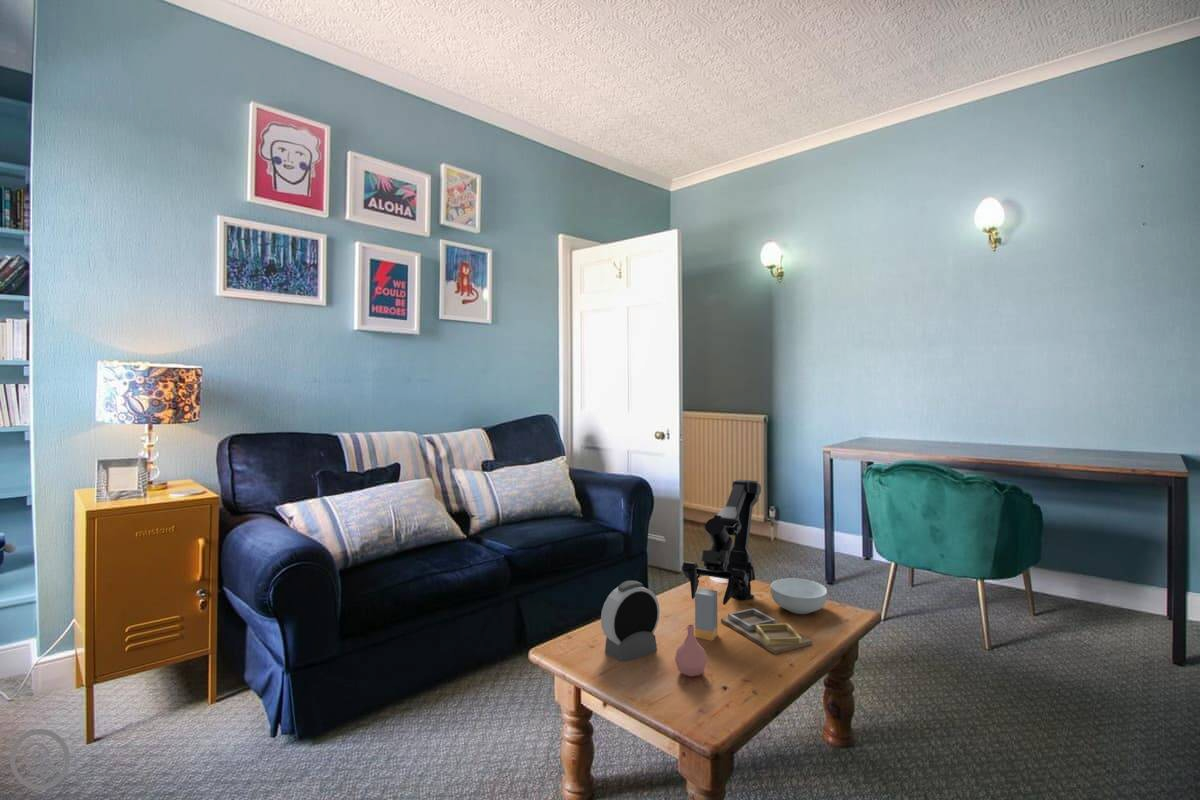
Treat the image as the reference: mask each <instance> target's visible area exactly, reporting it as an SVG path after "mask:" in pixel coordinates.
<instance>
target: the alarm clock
mask: <svg viewBox="0 0 1200 800" xmlns="http://www.w3.org/2000/svg"><path fill="white" fill-rule="evenodd" d="M660 614H661V613H660V604H659V600H658V598H657V596H656V595H655V593H654V592H653V591H651V590H650V589H648V588H646V587H644V586H643V583H641V582H639V581H637V580H625V581H623V582H621V583H620V584H619V585H618V586H617V587H616V588H614V589H613V590H612V591H611V592H610V593H609V595H608V596H607V597H606V600H605V601H604V603H603V606H602V609H601V615H600V622H601V625H600V626H601V629H602V632H603V634H604V635H605V637H606V638H605V639H606V640H605V641H606V642H605V647H604V652H606V654H608V655H609V656H611V657H612V658H614V659H615V660H617V661H619V662H627V661H633V660H638V659H640V658H641V659H642V658H645V657H646V656H649V655H651V654H652V653H654V652H656V651H657V650H658V647H657V639H656V635H655V634H654V633H655V631H656V629H657V627H658V624H659V620H660Z"/></svg>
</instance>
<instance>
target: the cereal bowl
mask: <svg viewBox="0 0 1200 800" xmlns="http://www.w3.org/2000/svg"><path fill="white" fill-rule="evenodd" d="M770 595H771V598H772V599H773V601H774V603H776V604H777V605H778V606H779V607H781V608H783V609H785V610H786V611H789V612H790V613H792V614H798V615H808V614H810V613H813V612H817V611H818V610H821V609H822V608H823V607H824V606H825V604H826V603H827V600H828V590H827V588H826V587H825V586H824V584H823V585H822V584H821V583H819V582H816V581H813V580H810V579H803V578H798V577H797V578H796V577H795V578H794V577H793V578H789V577H788V578H779V579H776V580H774V581H772V582H771V584H770Z"/></svg>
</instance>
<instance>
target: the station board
mask: <svg viewBox="0 0 1200 800" xmlns="http://www.w3.org/2000/svg"><path fill="white" fill-rule="evenodd" d="M720 622H721V623H722V624H724V625H726V626H727V627H729V628H730V629H732V630H734V631H736V632H737V633H739V634H740V635H743V636H744V637H745V638H747V639H748V640H751V641H752V642H754V643H755V644H757V645H759V646H760V647H762V648H764V649H765V650H767V651H769V652H771V653H772V654H774V655H777V654H780V653H783V652H788V651H792V650H796V649H798V648H803V647H806V646H810V645H812V644H813V641H812V639H809V638H808V637H806V636H804V635H803V634H800V633H798V632H797V631H796V630H795V629H794V628H793V626H791V625H790V624H789V623H787V622H786V623H785V622H784V623H783V622H782V623H780V622H777V620H776V619H775V618H773V617H772V616H769V615H768V614H766V613H764V612H761V611H760V610H758V609H756V608H754V607H753V608H748V609H743V610H740V611H734V612H730V613H728V614H727V616H726V617H725V616H724V617H722V618H720Z"/></svg>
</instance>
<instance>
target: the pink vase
mask: <svg viewBox="0 0 1200 800" xmlns="http://www.w3.org/2000/svg"><path fill="white" fill-rule="evenodd" d="M696 638H697V637H695V624H688V625H687V635H686V637H685V639H684V641H683V642H682V643H681V644H680V645H679V646H678V647H677V648H676V652H675V656H674V661H675V664H676V666H677V667H676V668H677V670H678V671H679V672H680V673H681V674H683V675H686V676H688V677H695V676H700V675H702V674H704V672H705V668H706V665H707V662H708V660H707V654H706V650H705V649H704V648H703V647H702V646H701V645H700V644H699V643H698V641H697V639H696Z"/></svg>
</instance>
